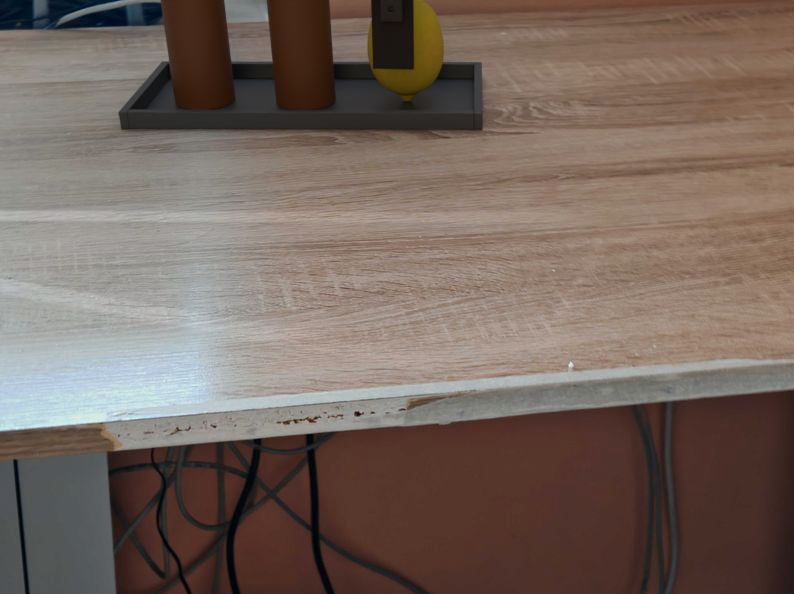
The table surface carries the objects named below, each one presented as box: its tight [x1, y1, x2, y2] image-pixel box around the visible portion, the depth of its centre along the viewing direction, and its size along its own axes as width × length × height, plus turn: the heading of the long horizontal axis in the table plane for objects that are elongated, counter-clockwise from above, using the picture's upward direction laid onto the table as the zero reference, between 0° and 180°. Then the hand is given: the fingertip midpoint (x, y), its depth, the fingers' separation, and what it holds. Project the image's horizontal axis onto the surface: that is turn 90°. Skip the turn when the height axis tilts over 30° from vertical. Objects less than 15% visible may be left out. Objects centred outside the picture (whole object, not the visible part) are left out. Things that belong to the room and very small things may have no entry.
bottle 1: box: [160, 0, 235, 110], centre depth 77 cm, size 4×4×13 cm
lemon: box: [366, 0, 445, 101], centre depth 78 cm, size 6×6×8 cm
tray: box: [117, 60, 484, 131], centre depth 80 cm, size 25×12×2 cm, turn 90°
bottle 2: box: [266, 0, 336, 110], centre depth 77 cm, size 4×4×13 cm
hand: (399, 40), depth 78 cm, fingers open, 13 cm apart
